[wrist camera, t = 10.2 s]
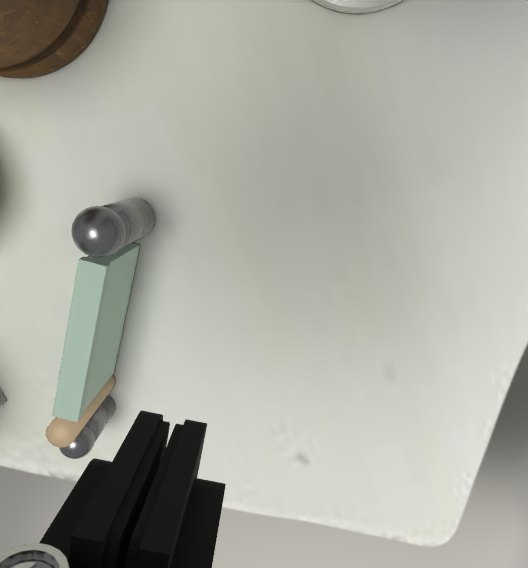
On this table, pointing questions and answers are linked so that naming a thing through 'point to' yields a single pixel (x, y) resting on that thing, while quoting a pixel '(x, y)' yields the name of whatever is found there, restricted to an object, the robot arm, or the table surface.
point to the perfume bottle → (2, 397)
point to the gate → (91, 341)
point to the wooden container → (45, 34)
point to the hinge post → (112, 226)
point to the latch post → (90, 430)
